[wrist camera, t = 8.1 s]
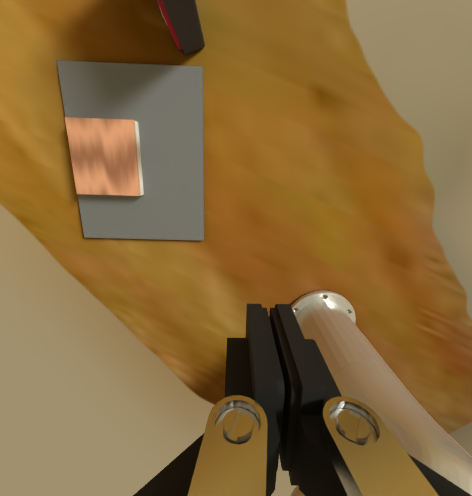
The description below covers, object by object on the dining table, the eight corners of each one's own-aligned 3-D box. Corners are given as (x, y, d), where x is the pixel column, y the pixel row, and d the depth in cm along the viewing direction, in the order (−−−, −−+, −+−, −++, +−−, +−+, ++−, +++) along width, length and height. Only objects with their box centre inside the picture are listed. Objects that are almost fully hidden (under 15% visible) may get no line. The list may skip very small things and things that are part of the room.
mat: (204, 239, 41) (203, 240, 40) (86, 236, 41) (84, 237, 40) (202, 68, 34) (202, 66, 33) (60, 62, 33) (56, 60, 33)
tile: (139, 196, 36) (76, 194, 36) (143, 194, 38) (83, 192, 38) (133, 119, 33) (64, 117, 33) (138, 122, 35) (72, 119, 35)
